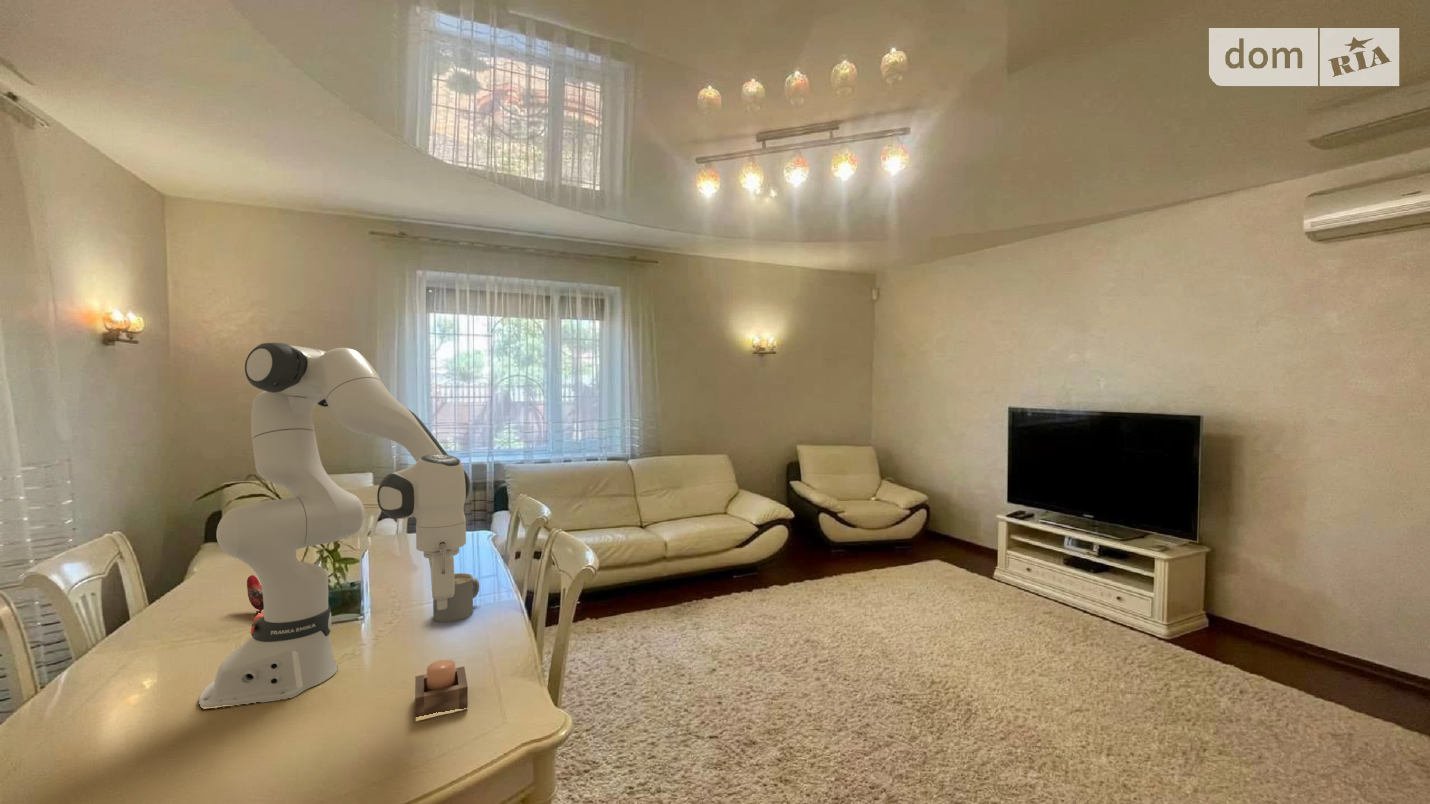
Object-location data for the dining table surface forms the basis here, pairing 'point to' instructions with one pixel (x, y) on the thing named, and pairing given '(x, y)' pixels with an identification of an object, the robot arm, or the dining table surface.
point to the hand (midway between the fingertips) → (441, 607)
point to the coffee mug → (458, 599)
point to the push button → (440, 675)
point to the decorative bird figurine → (255, 593)
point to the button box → (441, 695)
